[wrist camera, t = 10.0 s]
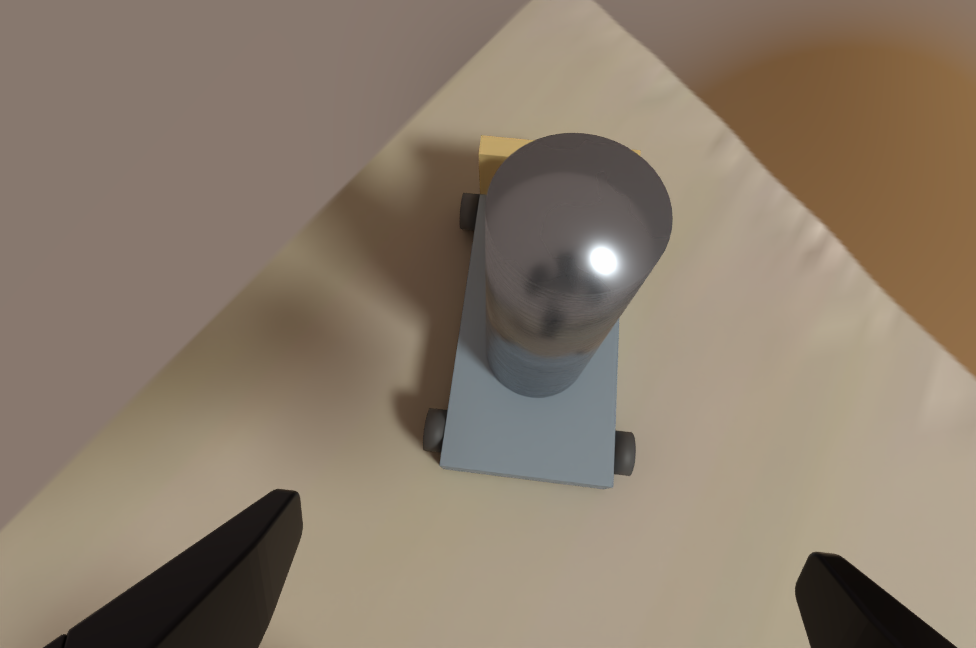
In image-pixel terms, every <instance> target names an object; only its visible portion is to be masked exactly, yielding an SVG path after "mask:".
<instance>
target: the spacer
mask: <svg viewBox="0 0 976 648" xmlns="http://www.w3.org/2000/svg"><path fill="white" fill-rule="evenodd" d="M672 219H673V218H672V207H671V203H670V198H669V195H668V193H667V190H666V188H665V186H664V184H663V182H662V180H661V179H660V177H659V176H658V174H657V173H656V172H655V170H654V169H653V168H652V167H651V166H650V165H649V164H648V163H647V162H646V161H645V160H644V159H643V158H642V157H640V156H639V155H638V154H637V153H635V152H634V151H632V150H631V149H629V148H628V147H626V146H624V145H622V144H620V143H618V142H615V141H613V140H610V139H607V138H604V137H600V136H596V135H591V134H584V133H563V134H556V135H550V136H546V137H543V138H539V139H537V140H535V141H532V142H530V143H528V144H526V145H524V146H522V147H521V148H519V149H518V150H516V151H515V152H514V153H512V154H511V155H510V156H509V157H508V158H507V159H506V160H505V161H504V162H503V163H502V164H501V166H500V167H499V168H498V170H497V171H496V173H495V175H494V176H493V178H492V180H491V183H490V185H489V188H488V192H487V196H486V205H485V271H486V356H487V360H488V363H489V366H490V368H491V370H492V372H493V374H494V375H495V377H496V378H497V379H498V380H499V381H500V383H501V384H503V385H504V386H505V387H506V388H508V389H509V390H511V391H512V392H515V393H517V394H519V395H522V396H526V397H531V398H545V397H550V396H553V395H556V394H559V393H561V392H563V391H565V390H566V389H567V388H569V387H570V386H571V385H572V384H573V383H574V382H575V381H576V380H577V379H578V377H579V376H580V374H581V373H582V371H583V370H584V369H585V367H586V366H587V364H588V363H589V361H590V360H591V358H592V357H593V355H594V354H595V353H596V351H597V350H598V348H599V347H600V345H601V344H602V342H603V341H604V339H605V338H606V336H607V335H608V334H609V332H610V331H611V329H612V328H613V326H614V325H615V323H616V322H617V320H618V319H619V317H620V316H621V315H622V313H623V312H624V310H625V309H626V307H627V306H628V304H629V303H630V301H631V300H632V298H633V297H634V296H635V294H636V293H637V291H638V290H639V288H640V287H641V285H642V284H643V282H644V281H645V280H646V278H647V277H648V275H649V274H650V272H651V271H652V269H653V268H654V266H655V265H656V263H657V262H658V261H659V259H660V257H661V256H662V254H663V252H664V251H665V249H666V246H667V244H668V242H669V239H670V235H671V230H672Z"/></svg>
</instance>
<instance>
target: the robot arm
mask: <svg viewBox="0 0 976 648" xmlns="http://www.w3.org/2000/svg"><path fill="white" fill-rule="evenodd" d="M302 530H303V521H302V511H301V501H300V495H299V493H298V492H296V491H293V490H284V489H275V490H273V491H271V492H270V493H268V494H267V495H265V496H264V497H262V498H261V499H259V500H258V501H256V502H255V503H254V504H252V505H251V506H249V507H248V508H246V509H245V510H243V511H242V512H240V513H239V514H237V515H236V516H235V517H233V518H232V519H230V520H229V521H227V522H226V523H224V524H223V525H221V526H220V527H218V528H217V529H216V530H214V531H213V532H211V533H210V534H208V535H207V536H205V537H204V538H202V539H201V540H200V541H198V542H197V543H195V544H194V545H192V546H191V547H189V548H188V549H186V550H185V551H183V552H182V553H181V554H179V555H178V556H176V557H175V558H173V559H172V560H170V561H169V562H167V563H166V564H164V565H163V566H162V567H160V568H159V569H157V570H156V571H154V572H153V573H151V574H150V575H148V576H147V577H146V578H144V579H143V580H141V581H140V582H138V583H137V584H135V585H134V586H132V587H131V588H129V589H128V590H127V591H125V592H124V593H122V594H121V595H119V596H118V597H116V598H115V599H113V600H112V601H110V602H109V603H108V604H106V605H105V606H103V607H102V608H100V609H99V610H97V611H96V612H94V613H93V614H92V615H90V616H89V617H87V618H86V619H84V620H83V621H81V622H80V623H78V624H77V625H75V626H74V627H73V628H71V629H70V630H69V631H68V633H67V635H66V634H63V635H61V636H59V637H58V638H56V639H55V640H53V641H52V642H50V643H49V644H47V645H46V646H45V647H43V648H258V647H259V645H260V643H261V641H262V639H263V636H264V634H265V632H266V630H267V628H268V625H269V623H270V620H271V618H272V615H273V613H274V610H275V607H276V605H277V602H278V599H279V597H280V594H281V591H282V588H283V586H284V583H285V580H286V577H287V575H288V572H289V569H290V566H291V564H292V561H293V558H294V555H295V553H296V550H297V547H298V544H299V542H300V539H301V535H302ZM795 595H796V600H797V604H798V607H799V610H800V613H801V617H802V620H803V623H804V627H805V630H806V633H807V636H808V640H809V643H810V646H811V648H957V647H956V646H955V645H953V644H952V643H951V642H950V641H948V640H947V639H946V638H944V637H943V636H942V635H941V634H939V633H938V632H937V631H936V630H934V629H933V628H932V627H930V626H929V625H928V624H927V623H925V622H924V621H923V620H922V619H920V618H919V617H918V616H917V615H915V614H914V613H913V612H911V611H910V610H909V609H908V608H906V607H905V606H904V605H903V604H901V603H900V602H899V601H898V600H896V599H895V598H894V597H892V596H891V595H890V594H889V593H887V592H886V591H885V590H884V589H882V588H881V587H880V586H878V585H877V584H876V583H875V582H873V581H872V580H871V579H870V578H868V577H867V576H866V575H865V574H863V573H862V572H861V571H859V570H858V569H857V568H856V567H854V566H853V565H852V564H851V563H849V562H848V561H847V560H846V559H844V558H843V557H841V556H839V555H837V554H832V553H823V552H813V553H811V554H810V555H809V557H808V558H807V561H806V563H805V565H804V567H803V569H802V571H801V574H800V576H799V578H798V580H797V582H796V586H795Z"/></svg>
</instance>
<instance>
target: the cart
mask: <svg viewBox="0 0 976 648" xmlns="http://www.w3.org/2000/svg"><path fill="white" fill-rule="evenodd" d="M532 141H535V140H524V139H514V138H503V137H492V136H482V135H481V141H480V148H479V180H480V194H471V193H463V196H462V201H461V208H460V229H465V230H474V238H473V244H472V251H471V258H470V264H469V271H468V278H467V285H466V291H465V298H464V305H463V311H462V318H461V325H460V332H459V338H458V345H457V352H456V358H455V365H454V372H453V378H452V385H451V392H450V399H449V405H448V410H441V409H433V408H430V409H429V411H428V414H427V417H426V422H425V428H424V436H423V449H424V450H425V451H433V452H441V459H440V466H441V467H442V468H443V469H447V470H455V471H463V472H471V473H479V474H487V475H495V476H503V477H511V478H519V479H527V480H535V481H543V482H551V483H559V484H567V485H575V486H582V487H590V488H598V489H607V488H612V487H613V480H614V474H618V475H626V476H630V475H631V474H632V471H633V468H634V463H635V453H636V446H635V438H634V435H633V433H632V432H624V431H615V424H616V396H617V367H618V339H619V319H618V320H617V322H616V323H615V325H614V326H613V328H612V329H611V331H610V332H609V334H608V335H607V336H606V338H605V339H604V341H603V342H602V344H601V345H600V347H599V348H598V350H597V351H596V353H595V354H594V355H593V357H592V358H591V360H590V361H589V363H588V364H587V366H586V367H585V369H584V370H583V371H582V373H581V374H580V376H579V377H578V379H577V380H576V381H575V382H574V383H573V384H572V385H571V386H570V387H569V388H567V389H566V390H565V391H563V392H561V393H559V394H556V395H553V396H550V397H545V398H531V397H526V396H522V395H519V394H517V393H515V392H512V391H511V390H509V389H508V388H506V387H505V386H504V385H503V384H501V383H500V381H499V380H498V379H497V378H496V377H495V375H494V374H493V372H492V370H491V368H490V366H489V363H488V360H487V356H486V271H485V205H486V196H487V192H488V188H489V185H490V183H491V180H492V178H493V176H494V175H495V173H496V171H497V170H498V168H499V167H500V166H501V164H502V163H503V162H504V161H505V160H506V159H507V158H508V157H509V156H510V155H511V154H512V153H514V152H515V151H516V150H518V149H519V148H521V147H522V146H524V145H526V144H528V143H530V142H532ZM632 151H634V152H635V153H637V154H638V155H639V156H640V150H632Z"/></svg>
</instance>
